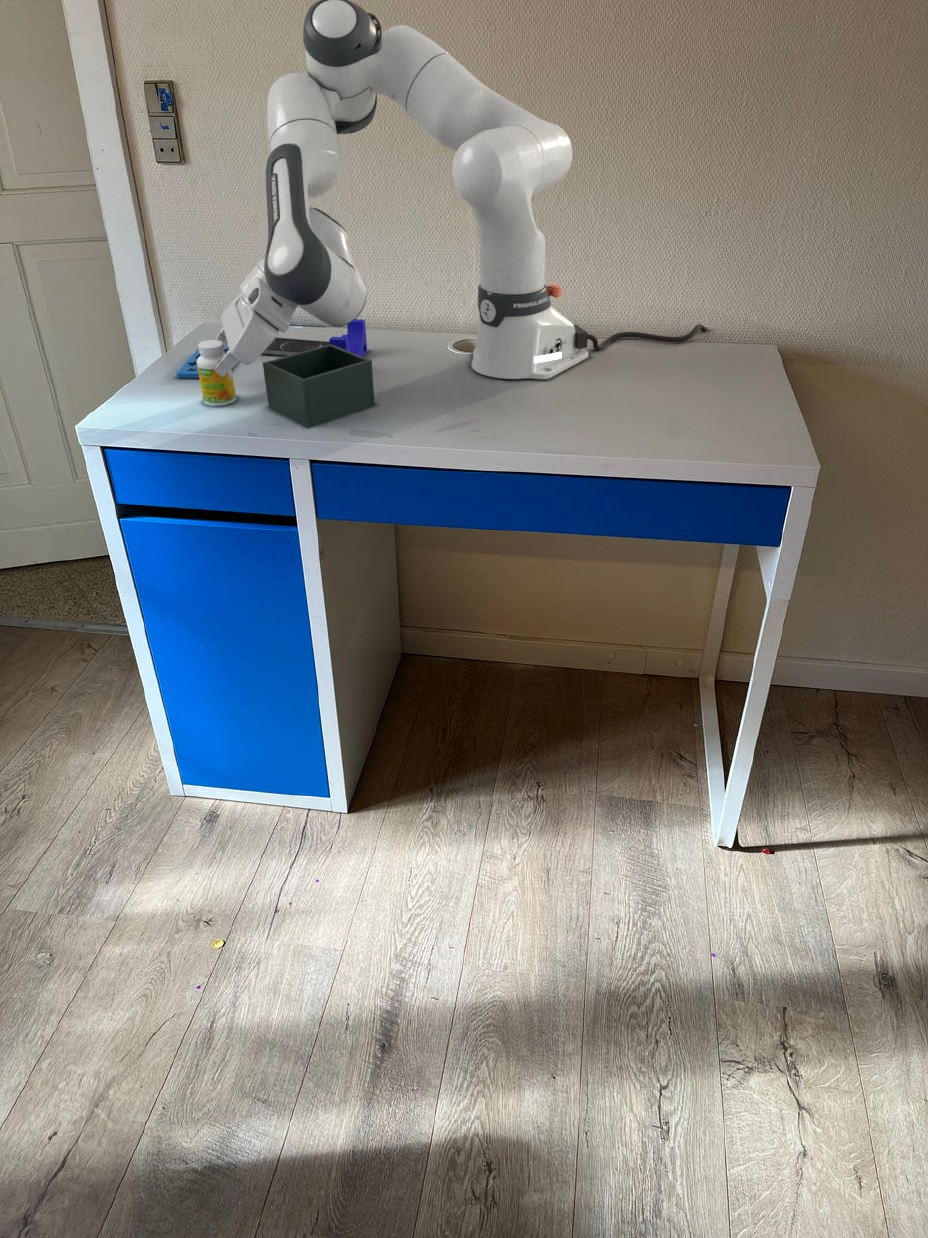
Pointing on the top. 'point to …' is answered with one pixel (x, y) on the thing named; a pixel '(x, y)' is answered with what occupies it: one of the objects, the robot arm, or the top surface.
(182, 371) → the handheld gaming device
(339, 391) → the bin
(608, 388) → the top surface
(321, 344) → the smartphone
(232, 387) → the supplement bottle
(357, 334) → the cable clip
